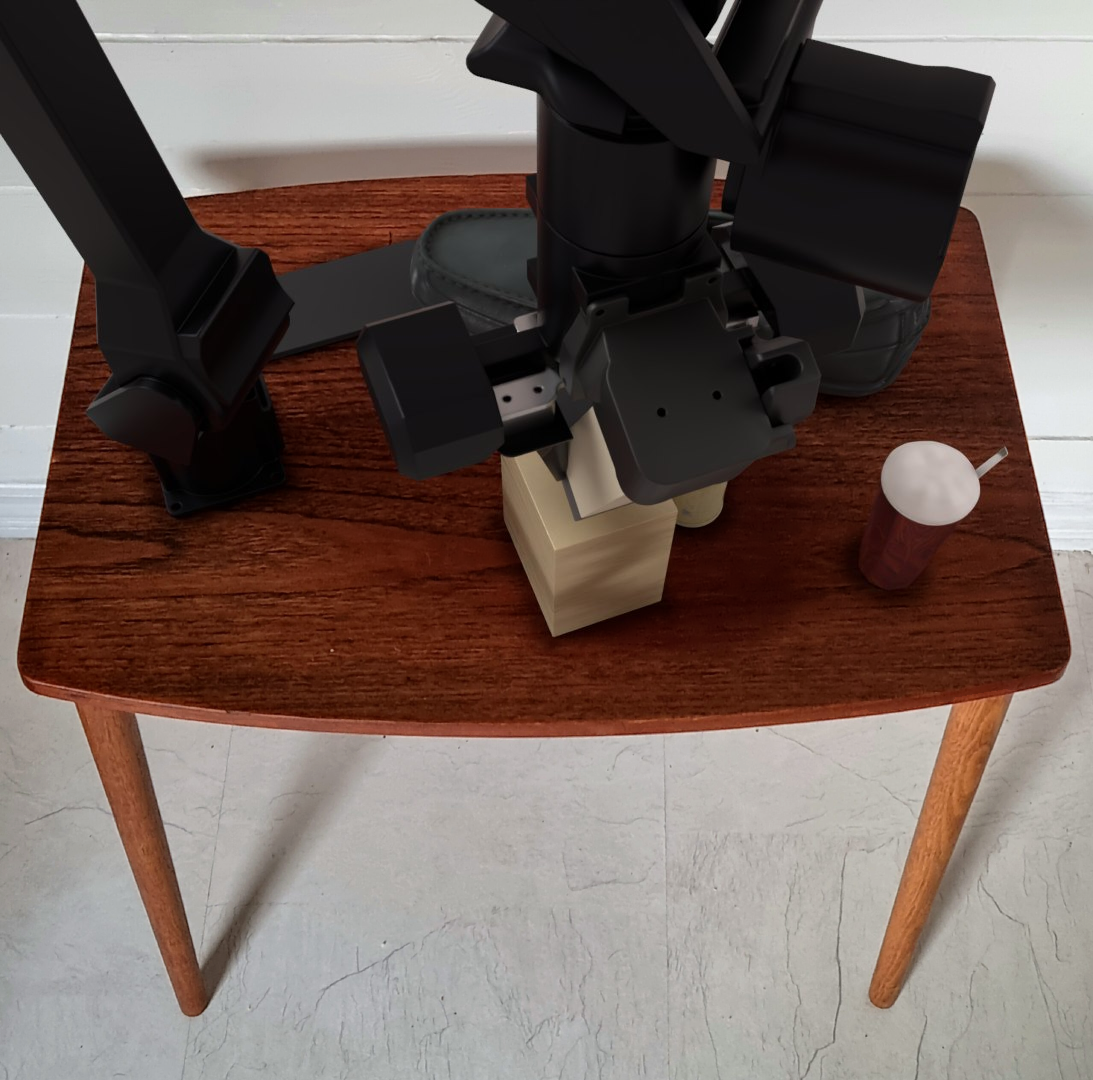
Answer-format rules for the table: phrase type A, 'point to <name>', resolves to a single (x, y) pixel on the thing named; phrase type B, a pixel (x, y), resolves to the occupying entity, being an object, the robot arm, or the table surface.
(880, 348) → the loafer
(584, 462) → the white block
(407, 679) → the table surface
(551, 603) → the stand
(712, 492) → the lighter
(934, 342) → the table surface
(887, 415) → the table surface
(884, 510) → the milkshake
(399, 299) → the shoe mat
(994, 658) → the table surface
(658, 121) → the robot arm
